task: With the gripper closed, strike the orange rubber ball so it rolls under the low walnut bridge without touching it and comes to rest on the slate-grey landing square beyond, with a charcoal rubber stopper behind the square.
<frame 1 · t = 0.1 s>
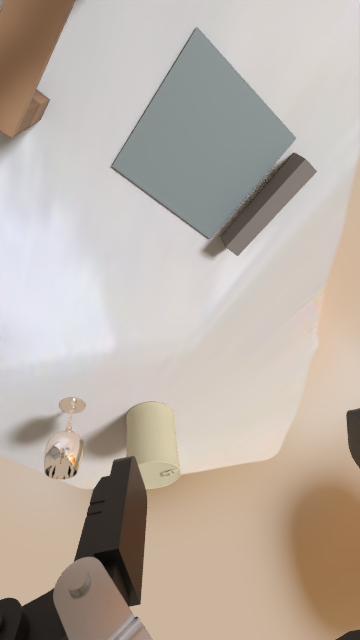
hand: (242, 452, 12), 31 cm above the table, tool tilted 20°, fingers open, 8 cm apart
stopper: (260, 202, 39), on the table
wineglass: (72, 404, 58), on the table
bridge: (62, 23, 27), on the table
can: (150, 415, 62), on the table
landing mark: (204, 151, 34), on the table
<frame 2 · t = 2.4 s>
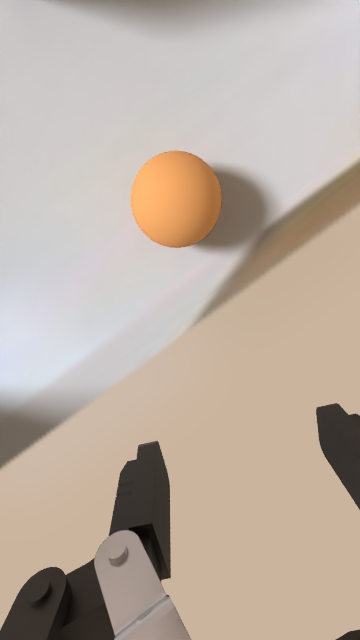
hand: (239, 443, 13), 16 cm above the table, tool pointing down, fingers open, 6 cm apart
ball: (176, 201, 22), on the table
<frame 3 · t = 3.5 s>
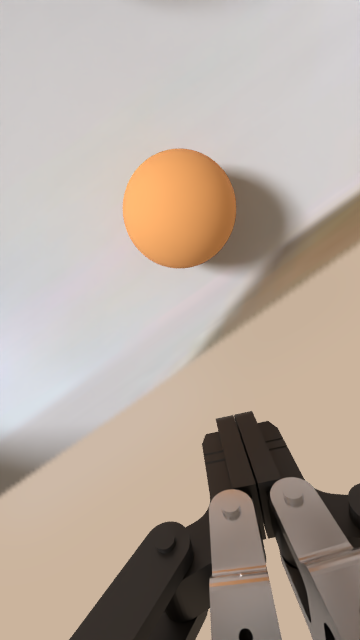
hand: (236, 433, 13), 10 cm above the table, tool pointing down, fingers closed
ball: (179, 211, 17), on the table
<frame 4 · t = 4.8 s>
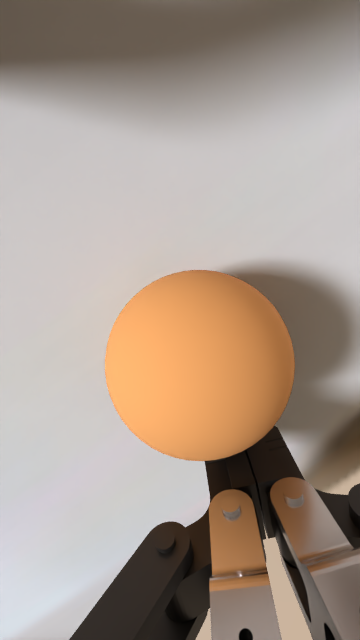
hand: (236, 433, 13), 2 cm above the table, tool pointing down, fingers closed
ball: (198, 362, 11), on the table
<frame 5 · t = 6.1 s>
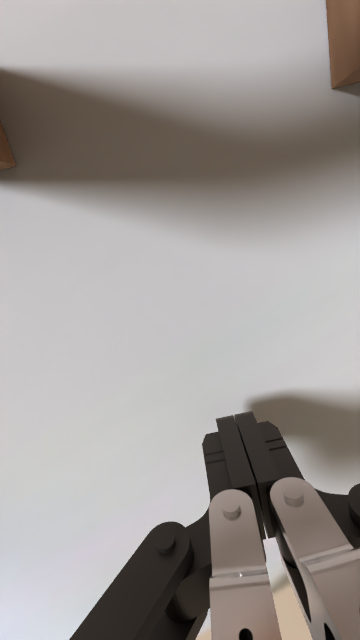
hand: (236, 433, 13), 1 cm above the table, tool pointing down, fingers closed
bridge: (160, 76, 11), on the table
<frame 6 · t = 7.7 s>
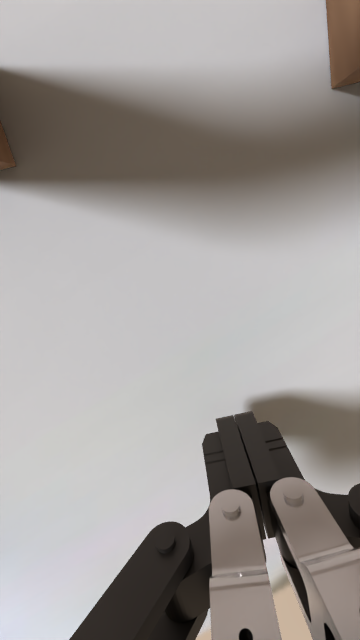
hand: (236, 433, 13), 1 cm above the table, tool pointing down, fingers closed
bridge: (160, 76, 11), on the table
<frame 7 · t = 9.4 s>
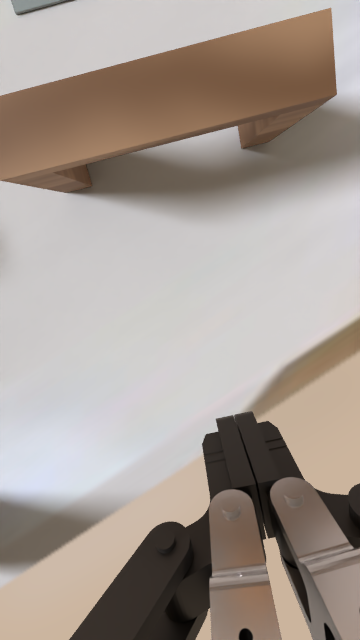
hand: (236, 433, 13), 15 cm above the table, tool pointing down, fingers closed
bridge: (161, 144, 23), on the table
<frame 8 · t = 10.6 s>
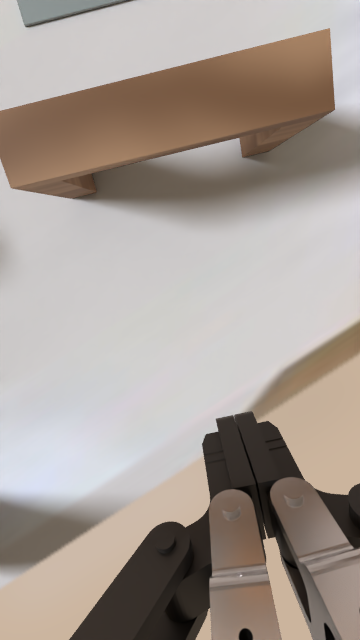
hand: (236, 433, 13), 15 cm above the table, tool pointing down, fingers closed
bridge: (164, 152, 23), on the table
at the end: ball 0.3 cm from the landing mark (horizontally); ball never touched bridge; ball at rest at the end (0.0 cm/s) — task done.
